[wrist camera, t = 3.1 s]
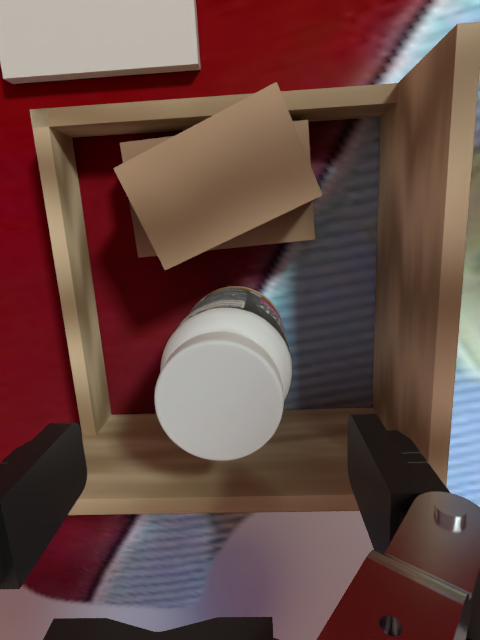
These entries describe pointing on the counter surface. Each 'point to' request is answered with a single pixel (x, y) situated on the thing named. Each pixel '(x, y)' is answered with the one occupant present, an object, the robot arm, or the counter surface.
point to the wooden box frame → (390, 303)
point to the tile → (96, 38)
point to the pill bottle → (224, 376)
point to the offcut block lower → (274, 231)
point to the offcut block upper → (219, 178)
